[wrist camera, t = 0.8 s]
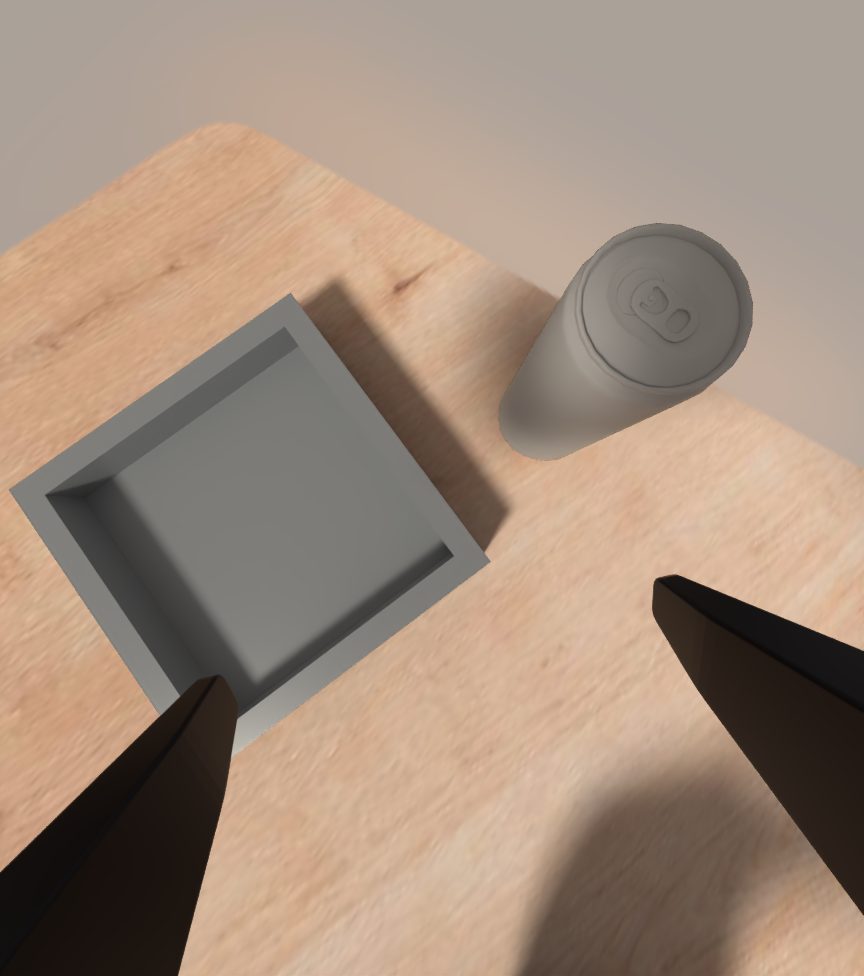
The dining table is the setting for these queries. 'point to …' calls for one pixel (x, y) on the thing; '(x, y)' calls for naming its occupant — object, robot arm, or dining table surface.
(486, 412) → the dining table surface
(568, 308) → the beverage can
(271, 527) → the tray
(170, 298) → the dining table surface
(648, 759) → the dining table surface
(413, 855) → the dining table surface
